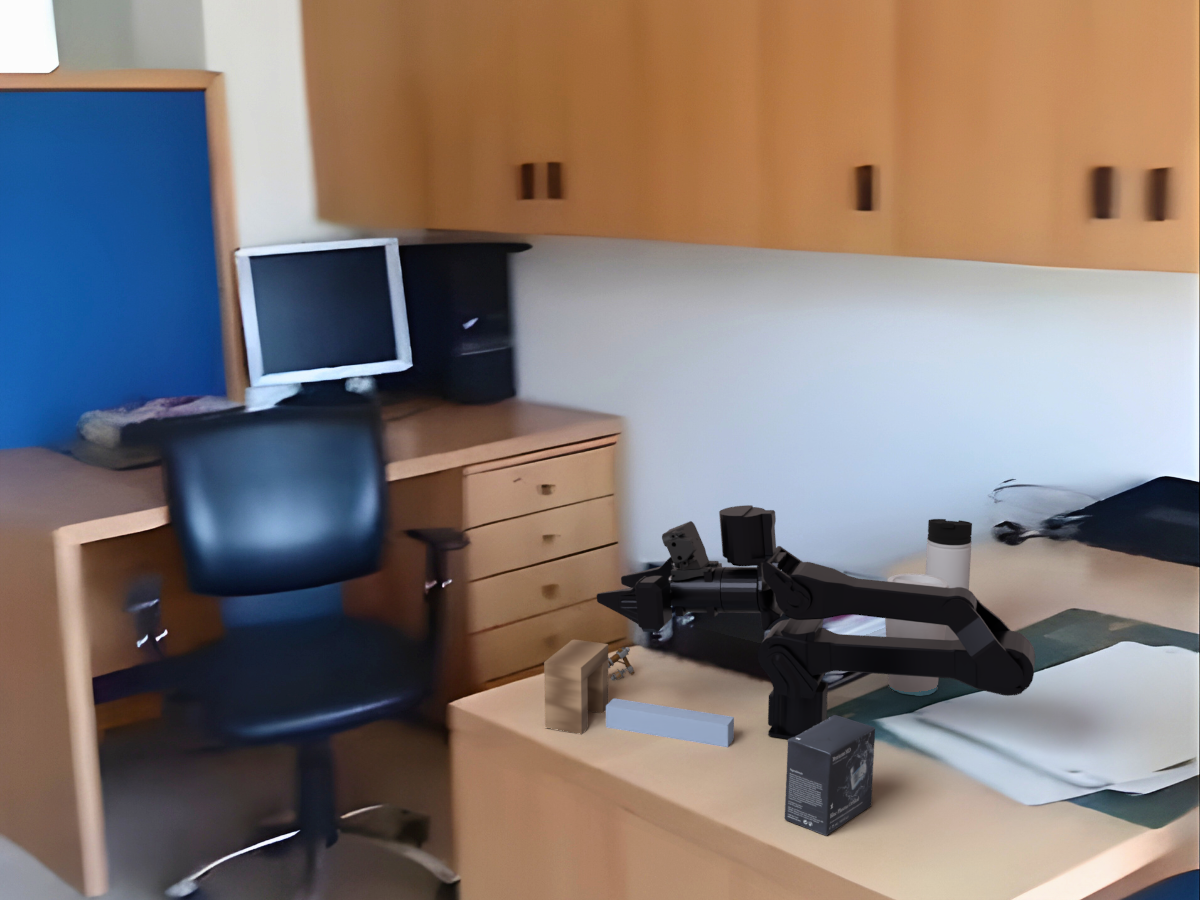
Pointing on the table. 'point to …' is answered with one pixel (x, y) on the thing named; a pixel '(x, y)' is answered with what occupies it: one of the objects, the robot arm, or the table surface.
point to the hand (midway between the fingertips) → (609, 588)
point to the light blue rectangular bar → (670, 722)
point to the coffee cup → (914, 634)
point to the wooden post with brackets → (620, 655)
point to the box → (829, 774)
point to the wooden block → (575, 685)
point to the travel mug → (949, 555)
